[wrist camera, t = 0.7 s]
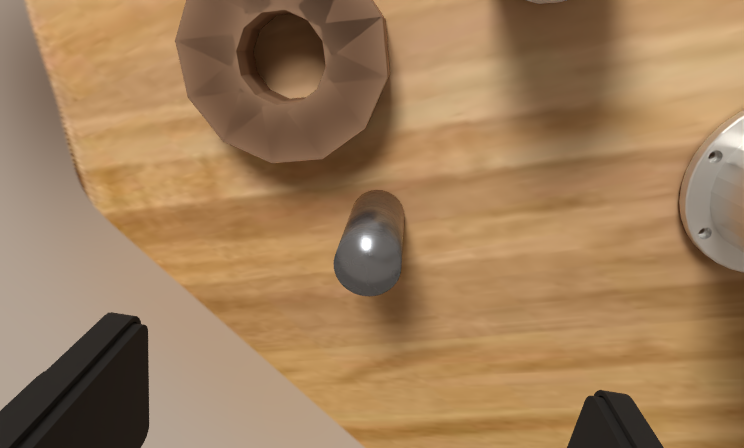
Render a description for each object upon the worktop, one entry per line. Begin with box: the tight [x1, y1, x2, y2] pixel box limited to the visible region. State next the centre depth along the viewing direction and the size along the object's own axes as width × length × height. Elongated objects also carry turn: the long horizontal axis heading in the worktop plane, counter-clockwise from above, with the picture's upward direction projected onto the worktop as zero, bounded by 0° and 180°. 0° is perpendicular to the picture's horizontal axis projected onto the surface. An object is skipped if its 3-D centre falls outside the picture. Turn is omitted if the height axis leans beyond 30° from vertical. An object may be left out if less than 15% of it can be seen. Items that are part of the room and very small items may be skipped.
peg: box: [334, 190, 404, 296], centre depth 33 cm, size 4×4×9 cm
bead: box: [175, 0, 390, 163], centre depth 32 cm, size 13×13×4 cm
